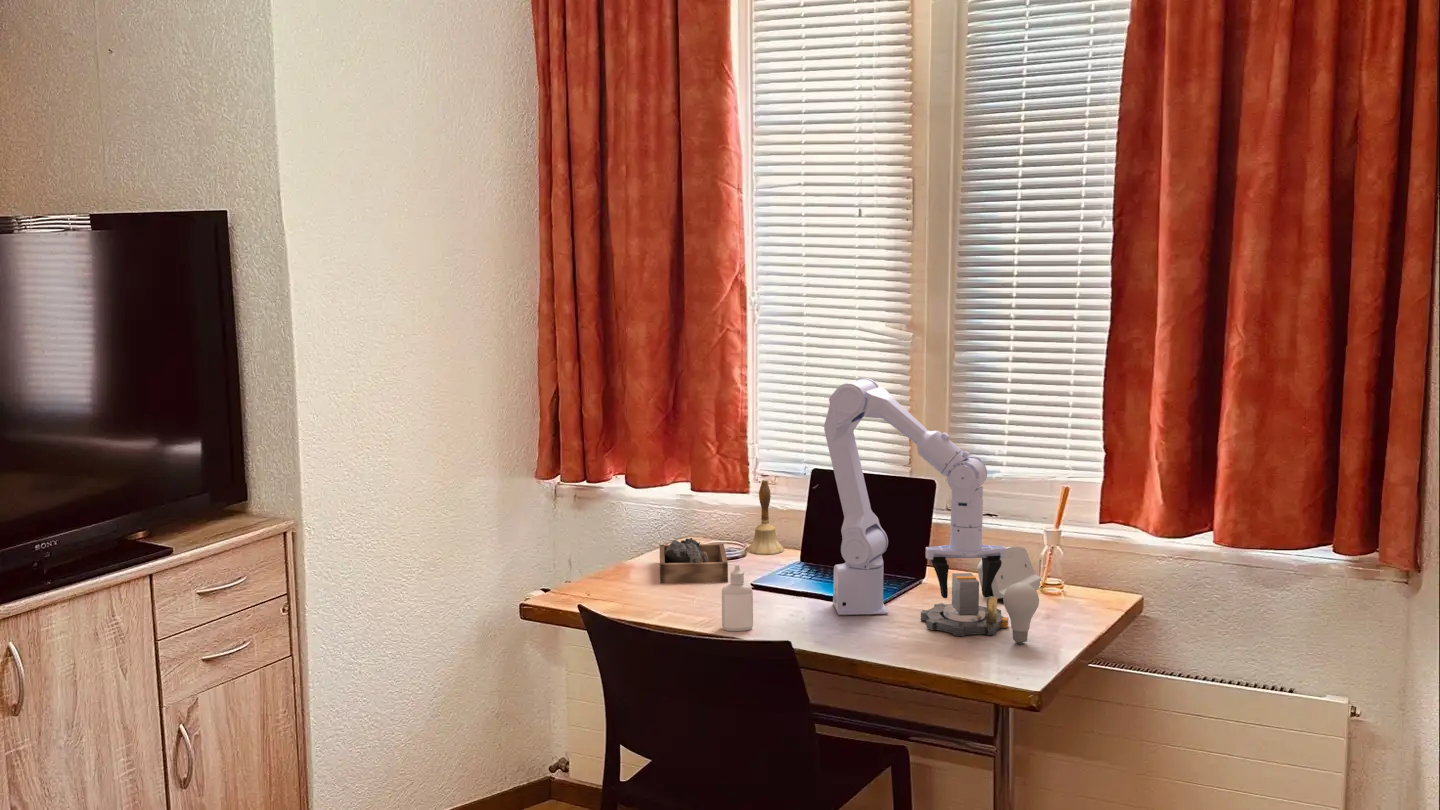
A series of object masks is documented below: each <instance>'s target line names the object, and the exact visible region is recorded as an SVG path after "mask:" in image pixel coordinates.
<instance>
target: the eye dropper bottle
mask: <svg viewBox="0 0 1440 810" xmlns="http://www.w3.org/2000/svg"><path fill="white" fill-rule="evenodd" d="M744 582H745V572H744V571H742V570H741V569H740V564H738V563H737V564H735V565H734V569H733V570H732V571H730V583H729V584H726V585H724V586H723V587H722V589H721V627H722V629H723V630H724V631H727V632H744V631H750V630H752V629H753V627H754V595H753V594H754V591H753V589H752V586H751V585H749V584H746V583H744Z"/></svg>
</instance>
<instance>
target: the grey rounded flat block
mask: <svg viewBox="0 0 1440 810" xmlns="http://www.w3.org/2000/svg"><path fill="white" fill-rule="evenodd" d="M1004 547H1005V548H1006V558H1000V560H1001V561H1002V564H1001V567H1000V569H999V570H998V572H997V574H996V576H995V578H994V580H993V582H992V585H991V588H990V592H989V596H994V597H997V600H999V599H1003V597H1004V593H1005V591H1006V590H1007V588H1008V587H1009V586H1011V585H1012V584H1015V583H1027V584H1029V585H1031V586H1032V587H1033V588H1034V589H1035V590H1036V591H1037V590H1039V589H1040V588H1039V586H1040V581H1041V579H1042V577H1041V576H1039V575H1037V574H1036V573H1035V570H1034V567H1033V564H1032V562H1031V558H1030V557H1029V553H1028V551H1027V549H1026V548H1025V547H1021V546H1007V547H1006V546H1004ZM976 570H977V574H978V579H979V580H978V581H979V585H980V588H981V590H982V580H983V568H982V559H980V561H979V563H978V564H977V566H976ZM1038 588H1039V589H1038ZM982 597H983V601H985V600H986V601H985V602H987V597H984V596H983V595H982Z"/></svg>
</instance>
